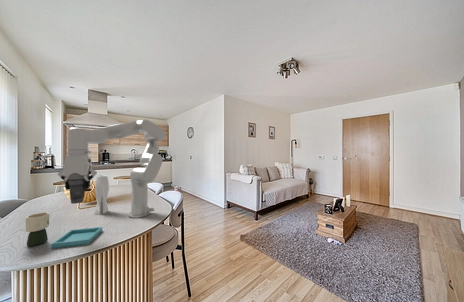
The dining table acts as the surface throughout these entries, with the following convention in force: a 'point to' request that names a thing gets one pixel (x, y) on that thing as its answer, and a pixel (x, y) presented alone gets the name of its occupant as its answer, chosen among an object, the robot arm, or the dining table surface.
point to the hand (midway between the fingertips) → (77, 188)
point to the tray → (77, 237)
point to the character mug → (37, 228)
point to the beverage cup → (76, 188)
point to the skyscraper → (101, 194)
